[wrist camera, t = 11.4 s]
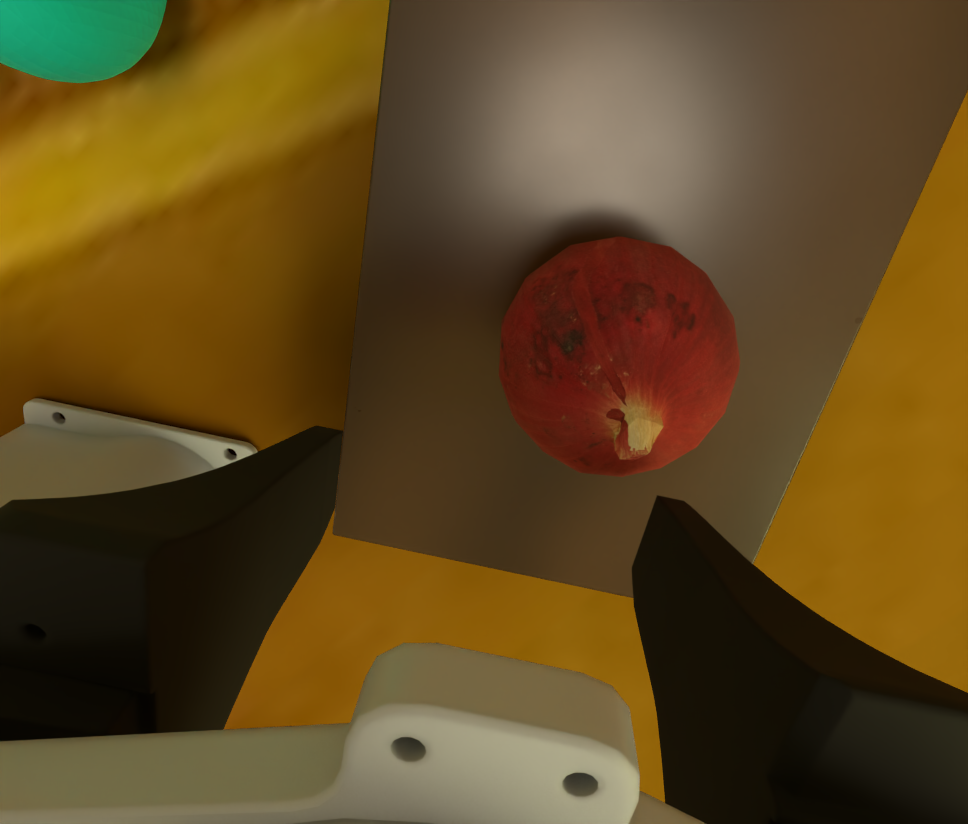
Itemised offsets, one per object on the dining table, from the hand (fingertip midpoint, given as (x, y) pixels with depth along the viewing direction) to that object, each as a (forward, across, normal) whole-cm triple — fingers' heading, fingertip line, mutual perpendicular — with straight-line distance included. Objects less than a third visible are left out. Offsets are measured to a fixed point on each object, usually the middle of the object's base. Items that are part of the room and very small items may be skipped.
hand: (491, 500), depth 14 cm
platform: (+10, -2, -3) cm, 10 cm away
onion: (+7, -2, -3) cm, 8 cm away
